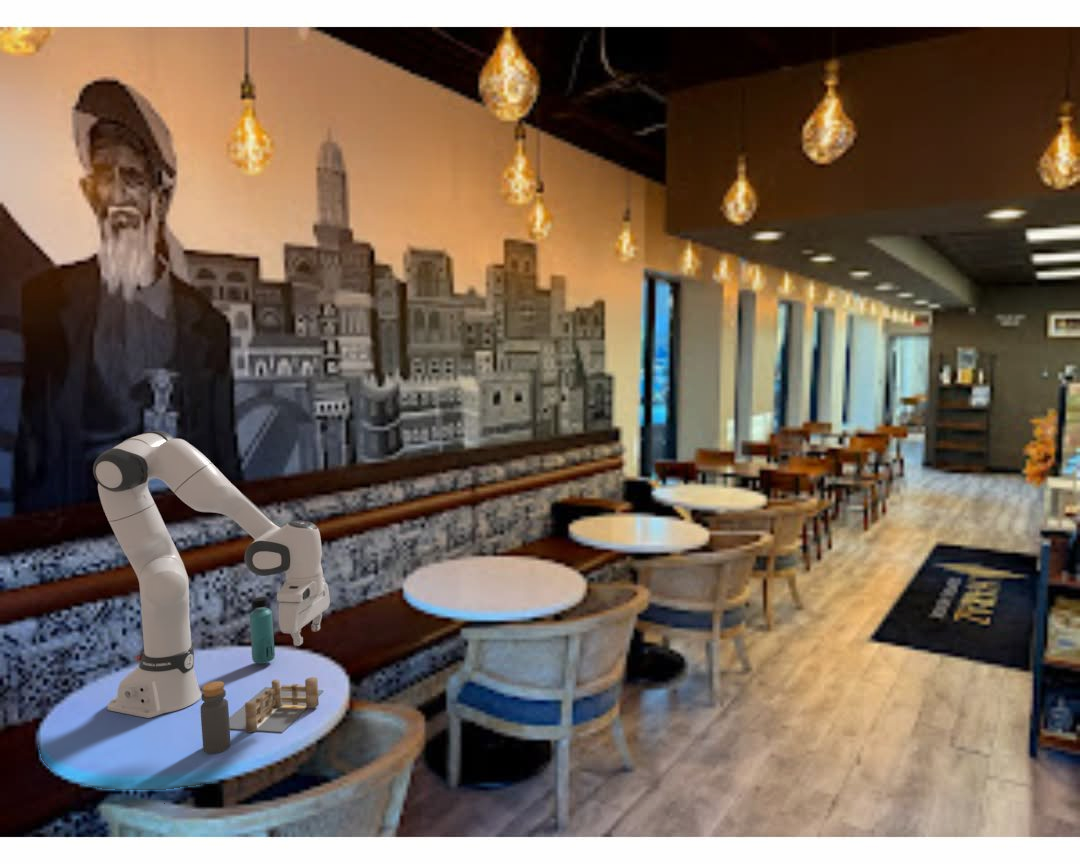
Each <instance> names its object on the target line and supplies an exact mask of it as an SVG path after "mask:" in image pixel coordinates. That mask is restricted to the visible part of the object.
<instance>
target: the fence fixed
mask: <svg viewBox="0 0 1080 864" xmlns="http://www.w3.org/2000/svg"><path fill="white" fill-rule="evenodd" d="M271 687H272V688H271V689H267V690H265V694H264V695H263V696H262V697H261V696H258V697H257V698H256V702H255V701H249V700H248V701H249V702H248V701H247V702H245V703H244V705H245V715H246V730H245V731H246V732H247V733H254V732H257V731H256V730H257V722H262V721H263V720H264V716H263V715H264V714H270V713H271V712H272V707H273V708H279V707H281V693H280V688H281V680H280V679H273V680H272V681H271ZM271 696H272V698H273V699H272V700H271ZM264 702H265V706H264V707H263V703H264ZM256 710H257V713H256Z"/></svg>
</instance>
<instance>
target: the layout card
mask: <svg viewBox="0 0 1080 864" xmlns="http://www.w3.org/2000/svg"><path fill="white" fill-rule="evenodd" d="M271 688H272V686H271V687H270V686H269V687H268V686H265V687H264V688H263V689H261V690H260V691H259V692H258V693H257V694H255V695H254V696H253V697H252V698H250V699H249V700H248V701H247V702H249V701H255V702H256V698H257V697H258V696H261V697H262V696H263V695H264V694H265V690H267V689H271ZM280 693H281V698H282V697H283V696H292V691H281V687H280ZM322 693H324V690H323V689H318V697H319V696H321V695H322ZM298 696H300V697H306V692H298ZM272 699H273V698H272V696H271V700H272ZM264 706H265V702H264V703H263V707H264ZM307 709H309V708H308V707H307V706H306V703H298V704H297V705H293V704H292V703H286V702H282V701H281V707H279V708H273V707H272V712H271V713H270V714H264V715H263V716H264V720H263V721H262V722H257V730H256V731H255V732H264V733H278V734H283V733H285V731H286V730H288V728H289V727H290V726H291V725H292V724H293V723H294V722H295V721H296V720H297V719H298V718H299V717H300V716H301V715H302V714H303V713H304V712H305V710H307ZM256 713H257V710H256ZM229 724H230V731H232V730H233V731H234V730H235V731H246V715H245V704H244V705H242V706H241V707H240V708H239V709H237V710H236V711H235V712H234V713H233V714H232V715H230V716H229Z"/></svg>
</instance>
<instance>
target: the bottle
mask: <svg viewBox="0 0 1080 864" xmlns="http://www.w3.org/2000/svg"><path fill="white" fill-rule="evenodd" d="M201 690H202V691H201V692H202V695H201V697H200V698H201V701H203V703H201V705H200V719H201V720H200V721H201V737H202V738H201V739H202V749H203V752H204V753H205V754H209V755H212V754H220V753H223V752H225V751H227V750H228V749H229V748H230V747H231V729H230V724H229V717H230V712H229V700H228V699H227V698H225V697H226V694H227V692H226V690H225V682H224V681H211V682H208V683H205V684H204V685H203V686H202V687H201Z"/></svg>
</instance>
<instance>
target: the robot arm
mask: <svg viewBox="0 0 1080 864" xmlns="http://www.w3.org/2000/svg"><path fill="white" fill-rule="evenodd" d="M92 473H93V475H94V478H95V480H96V482H97V490H98V496H99V500H100V503H101V506H102V509H103V512H104V513H105V514H104V515H105V516H106V518H107V521H108V523H109V525H110V527H111V529H112V531H113V533H114V536H115V538H116V539H117V542H118V544H119V546H120V548H121V550H122V551H123V553H124V555H125V557H126V558H127V560H128V562H129V563H130V565H131V567H132V569H133V570H134V572H135V575H136V577H137V579H138V583H139V594H140V595H139V596H140V609H141V610H140V611H141V623H142V624H141V625H142V626H141V627H142V638H143V639H142V640H143V648H144V649H143V650H144V651H142V652H140V654H139V655H137V656H134V659H135V660H134V661H135V662H138V661H140V662H139V664H138V666H137V667H136V668H135V669H133V670H132V671H131V672H130V673H128V674H127V675H126V676H125V677H124V678H123V679H122V680H120V683H119V685H118V687H117V695H116V696H115V697H114V698H112V699H111V700H110V701H109V703H108V704H107V708H106V709H107V710H108V711H112V712H117V713H121V714H124V715H125V714H127V715H131V716H136V717H141V718H144V719H145V718H147V719H150V718H154V717H157V716H159V715H162V714H167V713H171V712H176V711H179V710H182V709H184V708H188V707H189V706H191V705H193V704H195V703H197V701H199V700H200V699H201V698H202V697H201V696H202V694H203V692H202V691H201V689H200V687H199V684H198V680H197V676H196V671H195V667H194V666H195V652H194V644H193V643H192V636H191V635H192V634H191V623H190V622H191V621H190V583H189V576H188V573H187V570H186V567H185V564H184V561H183V560H182V558H181V556H180V553H179V551H178V549H177V547H176V545H175V543H174V541H173V539H172V537H171V535H170V533H169V531H168V529H167V526H166V525H165V521H164V520H163V518H162V515H161V513H160V511H159V508H158V507H157V504H156V503H155V501H154V498H153V497H152V495H151V494H152V493H151V492H150V490H149V483H150V482H149V481H150V480H152V479H157V480H160V481H162V482H163V483H164V484H165V485H166V486H167V487H168V488H169V489H170V491H172V492H173V493H174V495H176V496H177V498H179V499H180V500H181V502H183V503H184V504H186V505H187V506H188V507H190V508H191V509H193V510H194V511H197V512H201V513H216V514H221V515H224V516H226V517H229V518H230V519H231V520H233V521H234V522H235V523H236V524H237V525H239V526H240V527H241V528H242V529H243V530H244V531H245V532H246V533H248V534H249V536H250V537H252V538H253V540H254V541H253V542H251V543H250V544H249V545H248V546H247V548H245V549H246V550H245V552H244V557H243V558H244V559H243V560H244V564H245V565H246V567H247V569H248V570H249V572H251V573H253V574H254V575H256V576H260V577H263V576H264V577H267V576H272V575H278V574H281V573H285V576H286V580H285V581H284V583H283V585H282V587H281V588H280V589H279V590H278V592H277V594H276V600H277V601H278V602H280V603H279V604H278V624H279V625H278V626H279V629H280V631H281V632H282V633H283V634H290V635H291V637H292V640H293V646H295V647H299V646H301V645H302V644H303V643H304V637H303V636H301V633H302V628H303V627H304V628H305V626H306V625H308V624H309V623H310V622H311V621H312V624H311V625H310V628H311V632H313V633H314V632H318V631H320V630H321V622H322V619H323V612H325V611H326V610H327V609H328V608H329V607H330V604H331V603H330V602H331V599H330V592H329V585H328V583H327V582H326V578H325V577H324V573H323V572H324V571H323V567H322V564H321V563H322V562H321V561H322V557H323V550H322V548H323V547H322V540H321V539H322V538H321V533H320V530H319V528H318V526H317V525H316V524H314V522H311V521H306V520H291V521H288V522H287V523H286V524H285V525H282V524H279V522H276V521H274V520H273V519H272V518H270V517H269V516H268V515H267V514H266V513H265V512H264V511H262V510H261V509H260V507H258V506H257V505H256V504H254V503H253V502H252V500H251V499H249V498H248V497H247V496H246V495H245V494H244V493H243V492H241V491H240V490H239V489H238V488H237V487H236V486H235V485H234V484H233V483H231V481H230V480H229V479H228V478H227V477H226V476H225V475H224V474H223V473H222V472H221V471H220V470H219V468H218V467H217V466H215V465H214V463H213V462H211V460H210V459H209V458H207V457H206V455H204V454H203V453H202V452H201V451H200V450H199V449H198V448H196V447H195V446H194V445H192V444H190V443H189V442H188V441H186V440H185V439H183V438H175V437H174V436H173V435H171V434H170V433H168V432H166V431H163V430H152V431H151V430H148V431H145V432H143V433H142V434H138V435H136V436H132V437H130V438H127V439H125V440H124V441H122V442H121V443H119V444H117V445H115V446H114V447H111V448H109V449H107V450H105V451H103V452H102V453H101V454H100V455H99V456H98V457H97V458H96V459H95V461H94V463H93V466H92Z"/></svg>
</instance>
